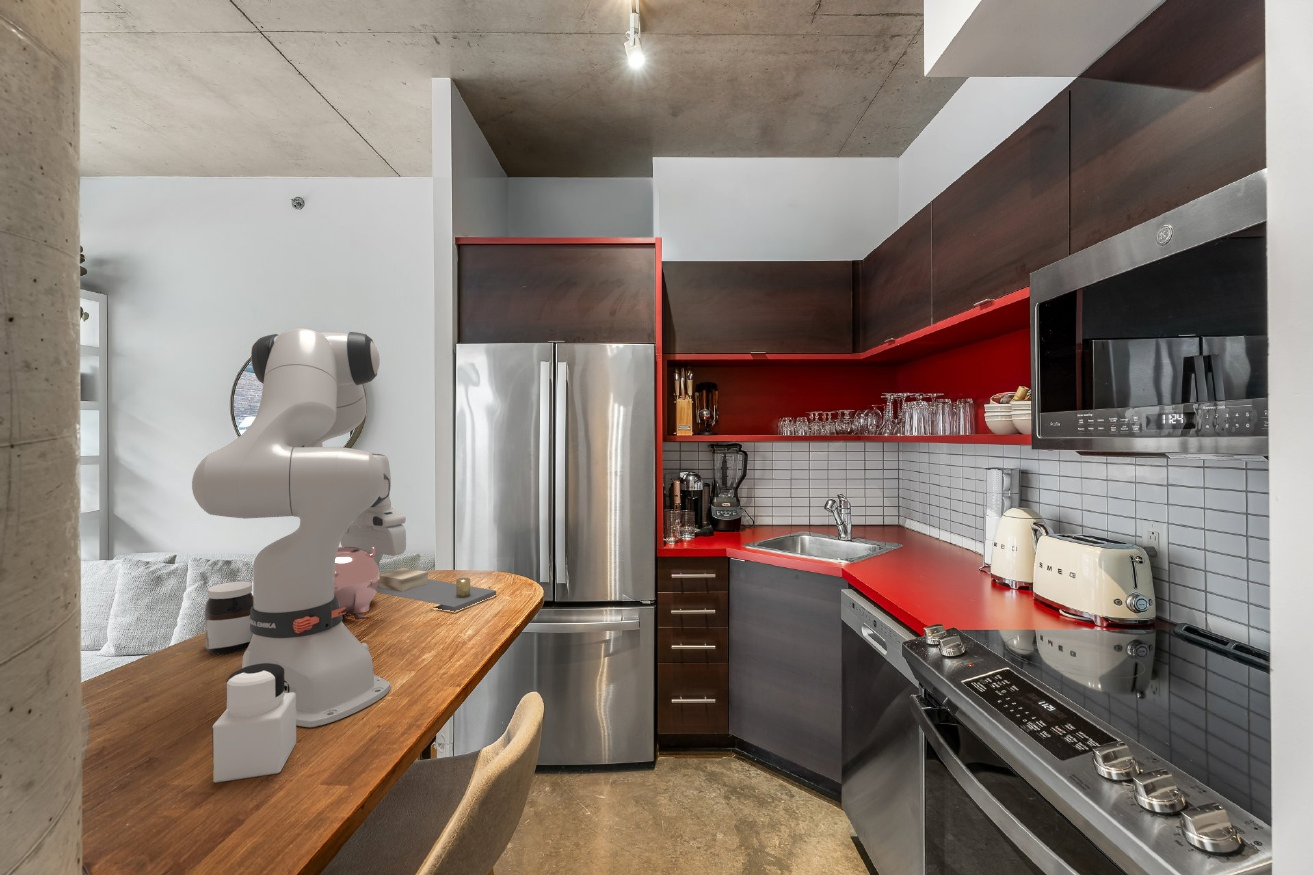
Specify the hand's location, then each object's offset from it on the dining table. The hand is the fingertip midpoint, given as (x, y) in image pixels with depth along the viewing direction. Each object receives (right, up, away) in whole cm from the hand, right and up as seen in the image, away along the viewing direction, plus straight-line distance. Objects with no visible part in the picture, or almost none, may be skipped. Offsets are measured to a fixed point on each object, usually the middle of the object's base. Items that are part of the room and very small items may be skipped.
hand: (372, 568), depth 152 cm
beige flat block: (+10, -3, -5) cm, 11 cm away
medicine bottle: (+23, -7, -78) cm, 82 cm away
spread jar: (-5, -6, -41) cm, 41 cm away
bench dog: (+28, -4, -13) cm, 31 cm away
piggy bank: (+3, -5, -23) cm, 24 cm away
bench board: (+18, -5, -8) cm, 20 cm away
